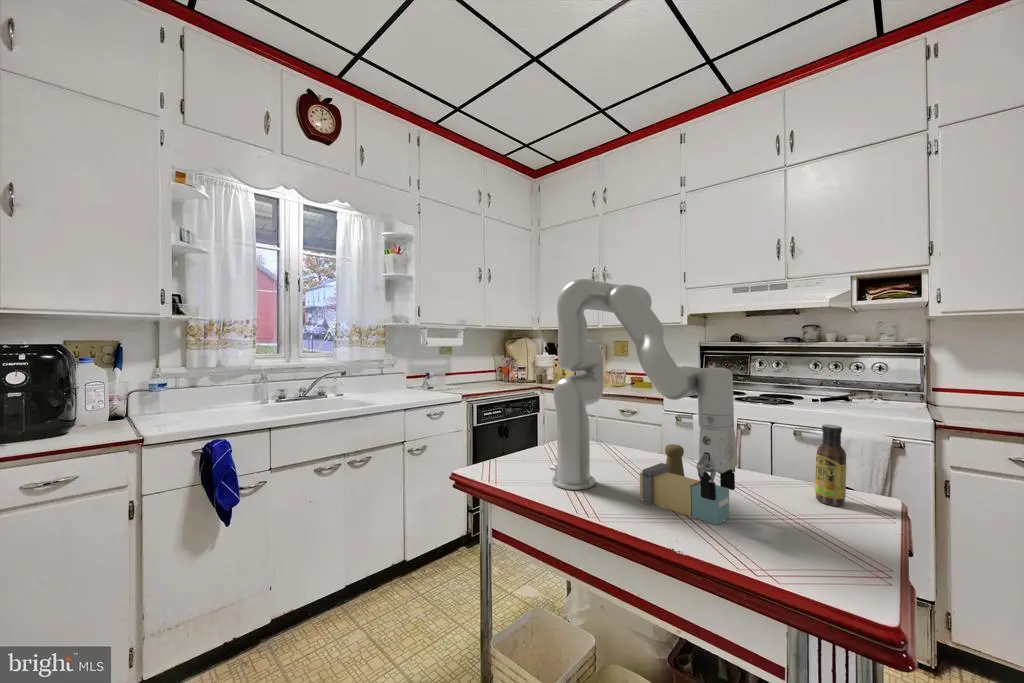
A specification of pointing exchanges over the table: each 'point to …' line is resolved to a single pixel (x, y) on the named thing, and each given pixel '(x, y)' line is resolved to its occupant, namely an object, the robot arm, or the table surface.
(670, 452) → the brown knobbed peg
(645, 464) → the table surface
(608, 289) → the robot arm
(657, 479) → the tan oblong box
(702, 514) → the teal box
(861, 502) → the table surface
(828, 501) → the sauce bottle
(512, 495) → the table surface
